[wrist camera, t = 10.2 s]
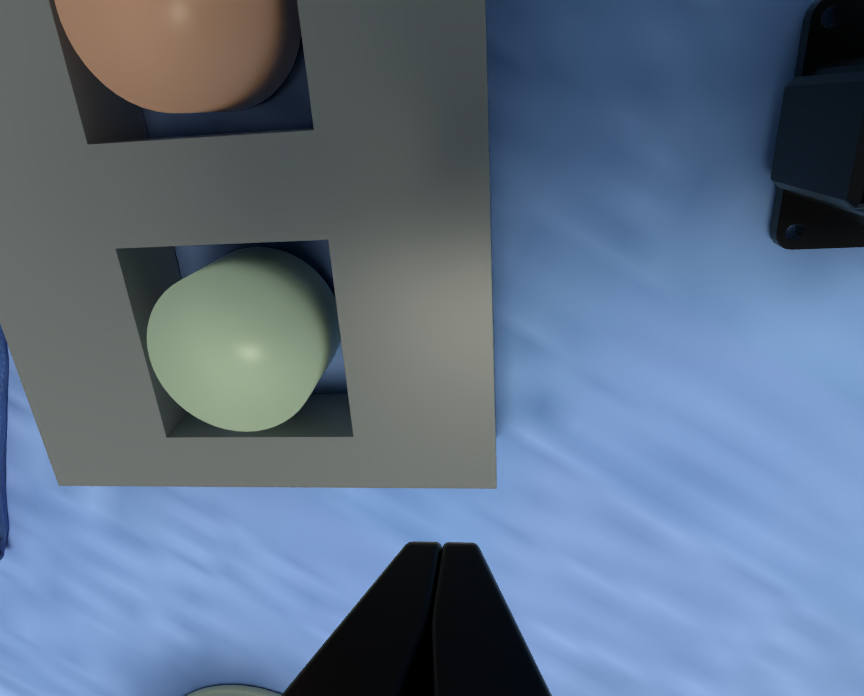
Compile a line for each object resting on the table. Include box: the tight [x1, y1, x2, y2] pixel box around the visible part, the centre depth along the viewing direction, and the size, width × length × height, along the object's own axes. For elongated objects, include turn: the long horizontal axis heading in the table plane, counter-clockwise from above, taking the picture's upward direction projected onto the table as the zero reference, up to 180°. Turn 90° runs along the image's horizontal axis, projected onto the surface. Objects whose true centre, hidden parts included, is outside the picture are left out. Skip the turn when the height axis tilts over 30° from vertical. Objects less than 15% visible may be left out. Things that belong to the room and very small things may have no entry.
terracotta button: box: [54, 0, 301, 113], centre depth 15 cm, size 5×5×3 cm
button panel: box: [0, 0, 497, 489], centre depth 15 cm, size 15×28×3 cm, turn 3°
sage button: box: [147, 247, 341, 432], centre depth 18 cm, size 5×5×3 cm
